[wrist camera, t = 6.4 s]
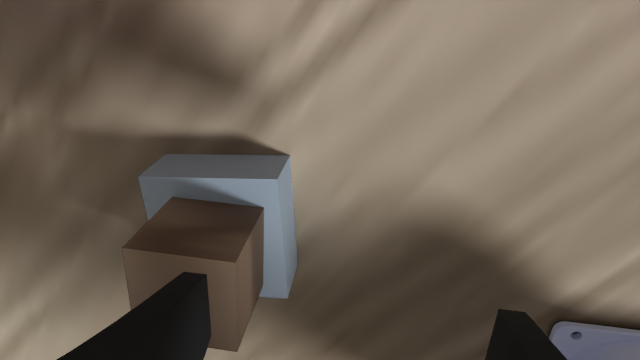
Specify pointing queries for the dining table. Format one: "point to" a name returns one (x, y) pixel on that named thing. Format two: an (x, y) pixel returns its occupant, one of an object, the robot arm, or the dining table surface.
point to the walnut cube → (202, 259)
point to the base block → (235, 200)
